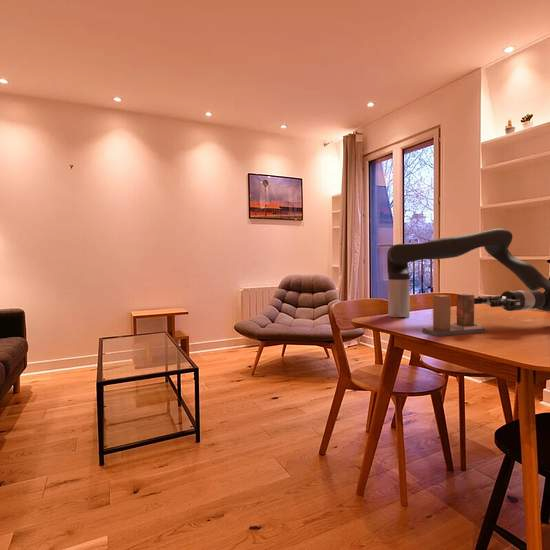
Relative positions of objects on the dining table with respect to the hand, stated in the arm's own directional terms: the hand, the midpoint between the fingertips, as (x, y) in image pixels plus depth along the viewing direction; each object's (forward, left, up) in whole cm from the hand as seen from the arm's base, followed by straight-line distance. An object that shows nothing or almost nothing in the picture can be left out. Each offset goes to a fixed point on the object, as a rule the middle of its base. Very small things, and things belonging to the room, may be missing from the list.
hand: (481, 302), depth 136 cm
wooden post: (+2, -7, -9) cm, 11 cm away
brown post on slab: (+4, -11, -10) cm, 16 cm away
